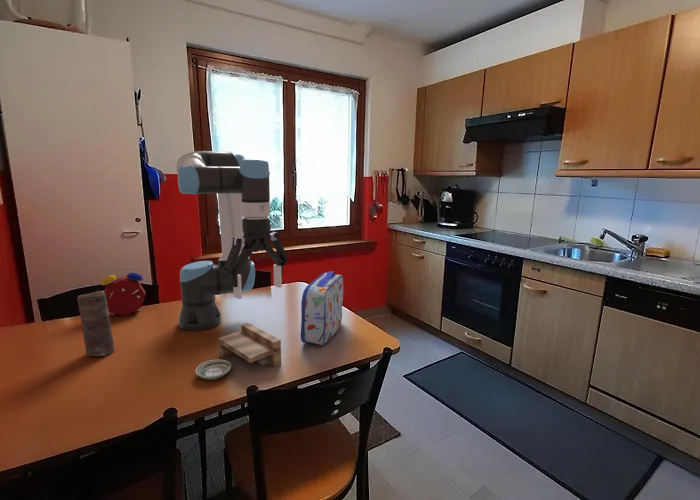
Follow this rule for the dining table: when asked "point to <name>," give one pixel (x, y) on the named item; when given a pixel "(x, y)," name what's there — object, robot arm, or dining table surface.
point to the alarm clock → (124, 293)
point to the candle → (96, 324)
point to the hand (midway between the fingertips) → (258, 291)
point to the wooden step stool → (252, 345)
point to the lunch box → (321, 308)
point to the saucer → (213, 369)
